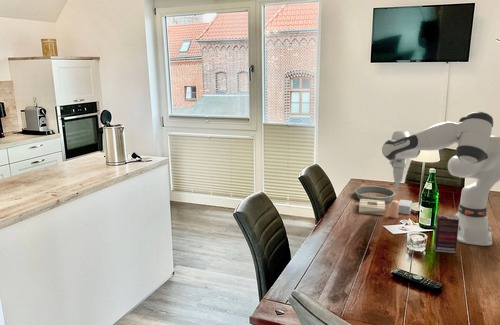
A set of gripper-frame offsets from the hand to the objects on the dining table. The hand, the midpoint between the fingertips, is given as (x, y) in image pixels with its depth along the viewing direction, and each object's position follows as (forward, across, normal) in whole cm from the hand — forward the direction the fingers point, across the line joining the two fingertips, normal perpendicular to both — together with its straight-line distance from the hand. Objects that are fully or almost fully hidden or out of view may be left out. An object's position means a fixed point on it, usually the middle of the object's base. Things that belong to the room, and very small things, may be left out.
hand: (396, 185), depth 212 cm
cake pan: (+19, -32, -11) cm, 39 cm away
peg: (+18, 0, 0) cm, 18 cm away
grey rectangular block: (+18, -12, +6) cm, 23 cm away
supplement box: (+18, +37, +20) cm, 46 cm away
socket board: (+18, -8, -12) cm, 23 cm away
